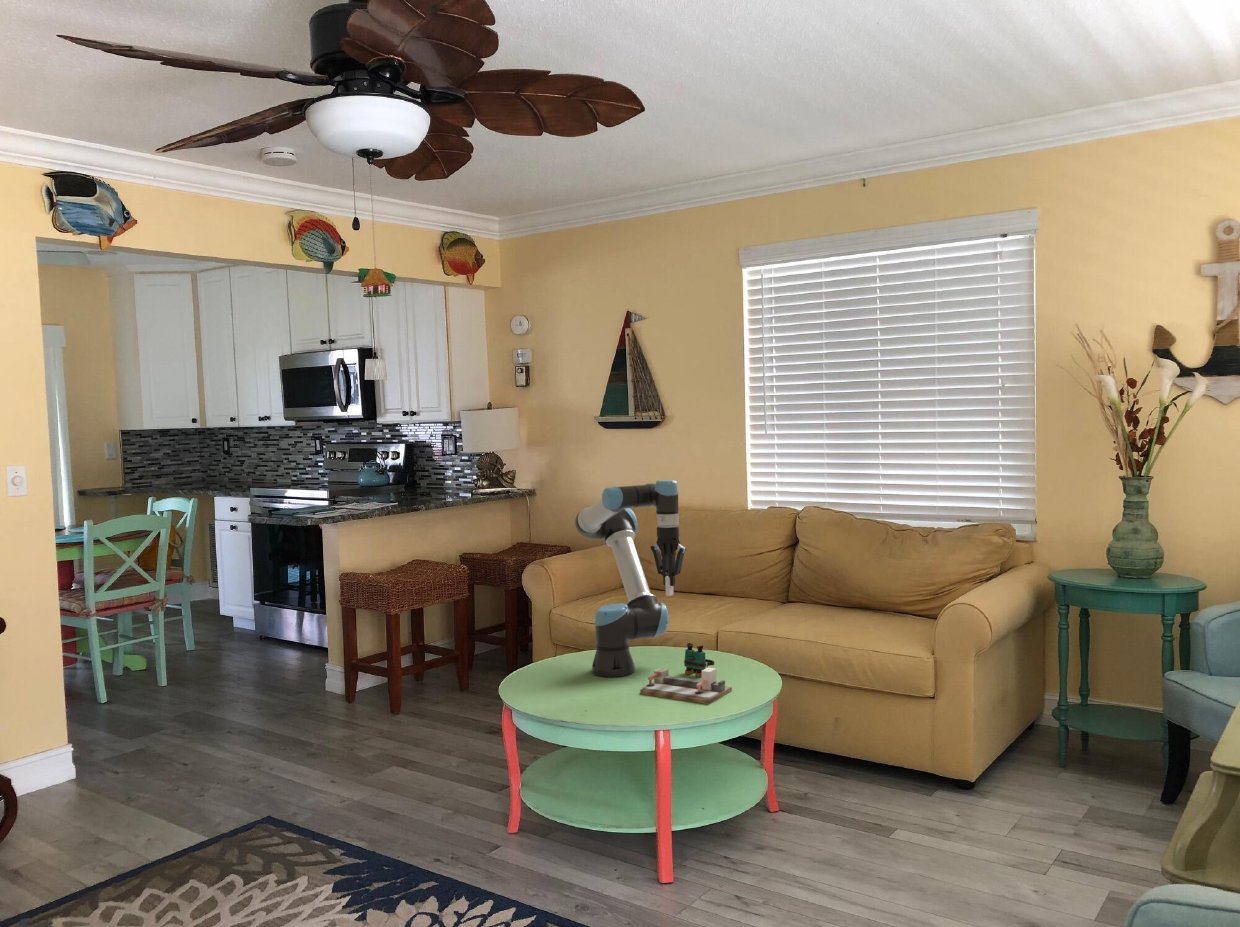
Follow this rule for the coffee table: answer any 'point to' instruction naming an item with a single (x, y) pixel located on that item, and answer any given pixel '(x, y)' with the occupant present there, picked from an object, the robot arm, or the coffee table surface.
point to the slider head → (707, 679)
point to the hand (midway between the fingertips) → (669, 595)
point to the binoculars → (695, 660)
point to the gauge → (682, 688)
